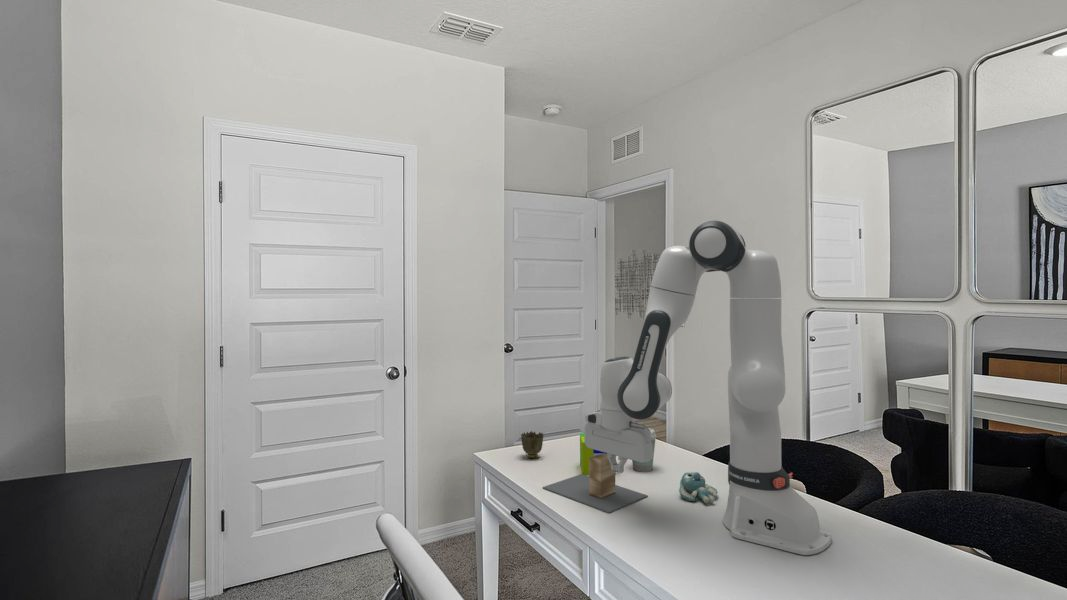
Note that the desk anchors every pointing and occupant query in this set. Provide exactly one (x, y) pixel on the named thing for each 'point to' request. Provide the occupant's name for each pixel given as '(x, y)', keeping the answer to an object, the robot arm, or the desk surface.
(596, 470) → the oak block
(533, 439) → the olive cup-shaped piece
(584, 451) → the puzzle toy
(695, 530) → the desk surface
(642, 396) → the robot arm
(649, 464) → the coffee cup
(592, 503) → the mat
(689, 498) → the stuffed animal
